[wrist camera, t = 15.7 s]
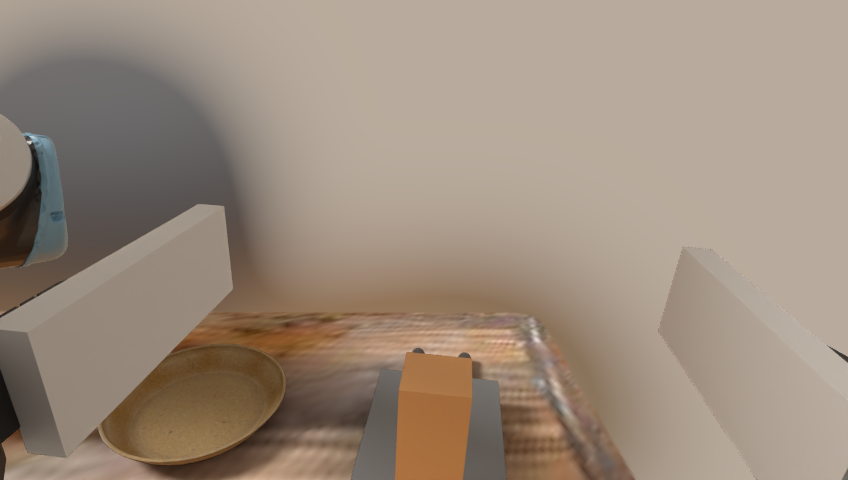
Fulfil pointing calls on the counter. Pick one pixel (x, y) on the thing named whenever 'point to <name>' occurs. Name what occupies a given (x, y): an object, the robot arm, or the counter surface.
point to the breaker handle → (433, 417)
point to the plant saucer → (196, 405)
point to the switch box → (483, 443)
